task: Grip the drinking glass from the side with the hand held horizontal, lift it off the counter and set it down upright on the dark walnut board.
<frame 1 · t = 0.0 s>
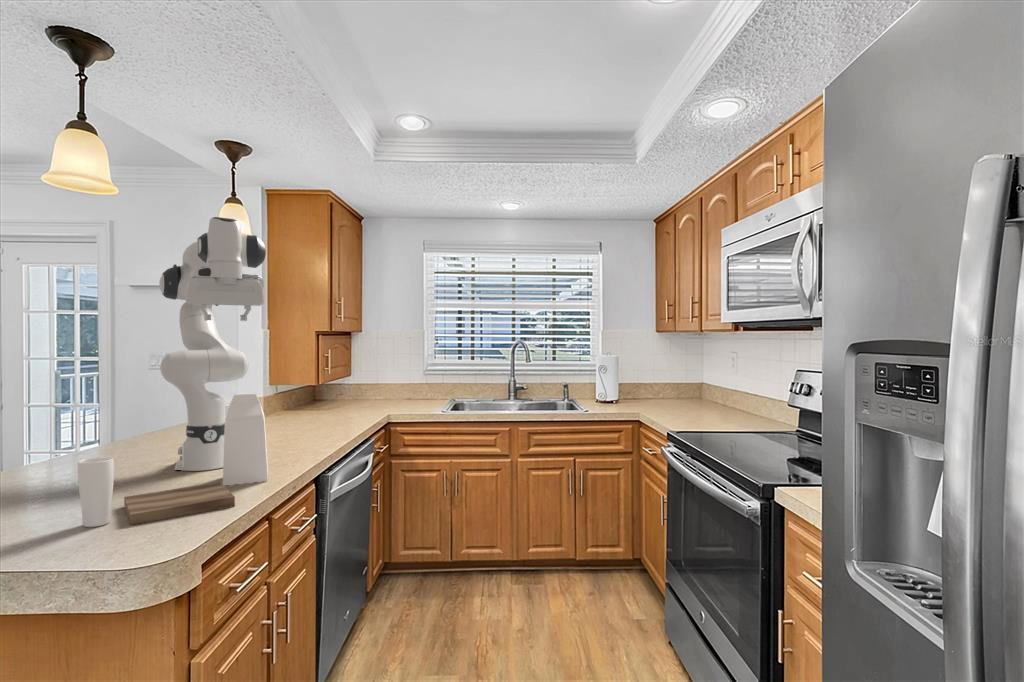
hand: (226, 320, 159), 48 cm above the worktop, tool pointing down, fingers open, 8 cm apart
drinking glass: (97, 525, 128), on the worktop
milk: (246, 479, 168), on the worktop
walnut board: (179, 506, 141), on the worktop
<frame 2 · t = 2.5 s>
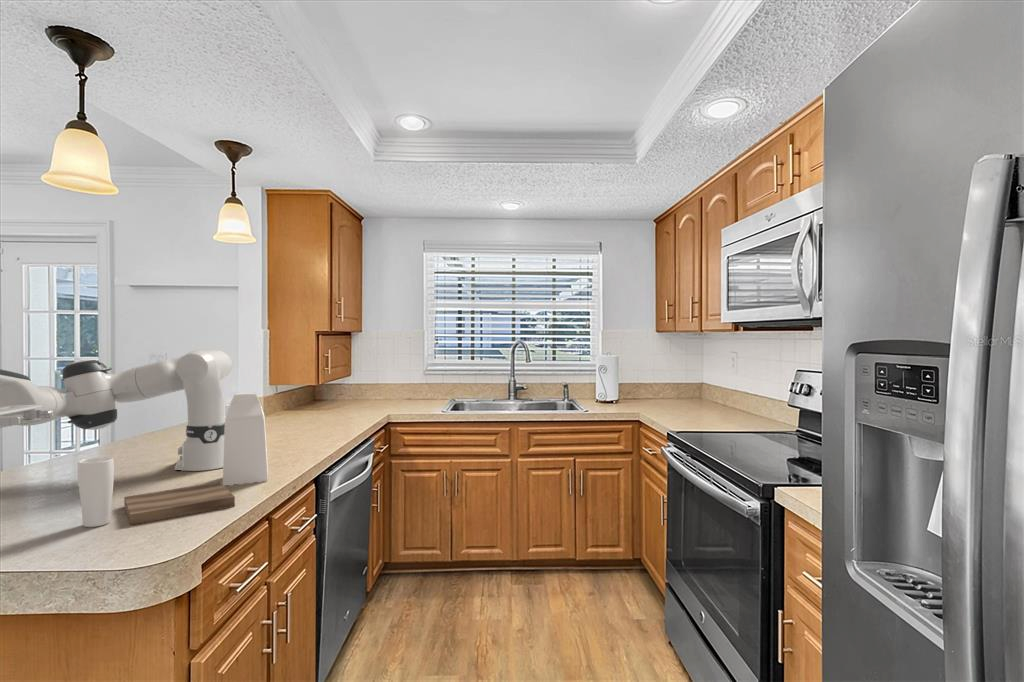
hand: (36, 417, 126), 25 cm above the worktop, tool horizontal, fingers open, 8 cm apart
nothing on the worktop moved.
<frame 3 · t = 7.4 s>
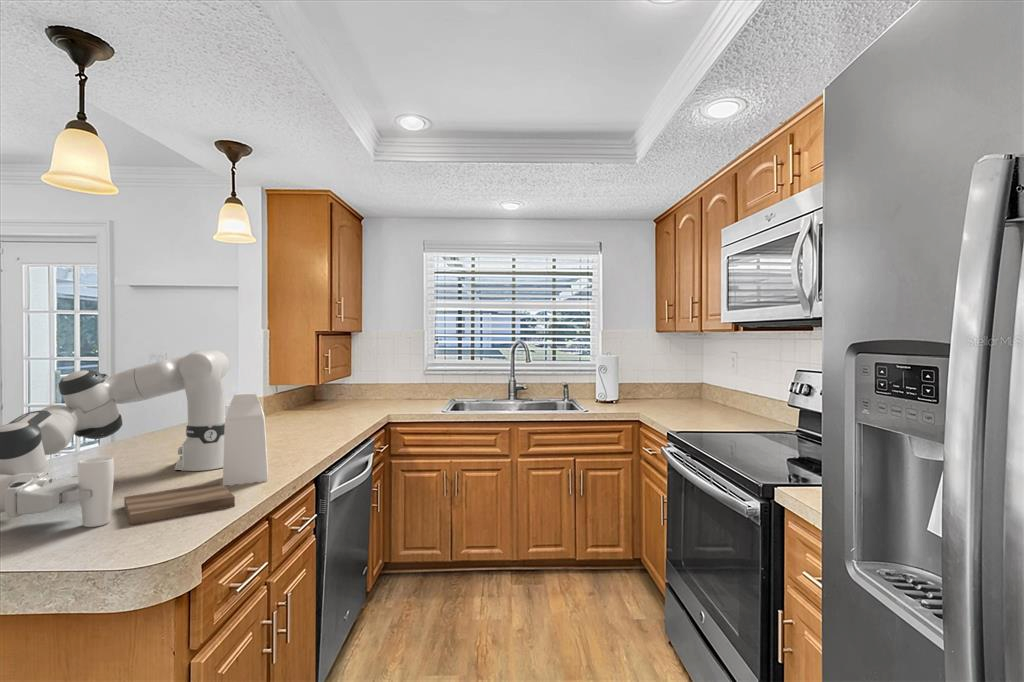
hand: (100, 489, 128), 8 cm above the worktop, tool horizontal, fingers closed on drinking glass, 6 cm apart
drinking glass: (96, 525, 128), on the worktop, touching gripper
everything else where it was.
when the fingers open (12 cm above the worktop, at t = 11.8 s): drinking glass moves 2 cm, resting on walnut board.
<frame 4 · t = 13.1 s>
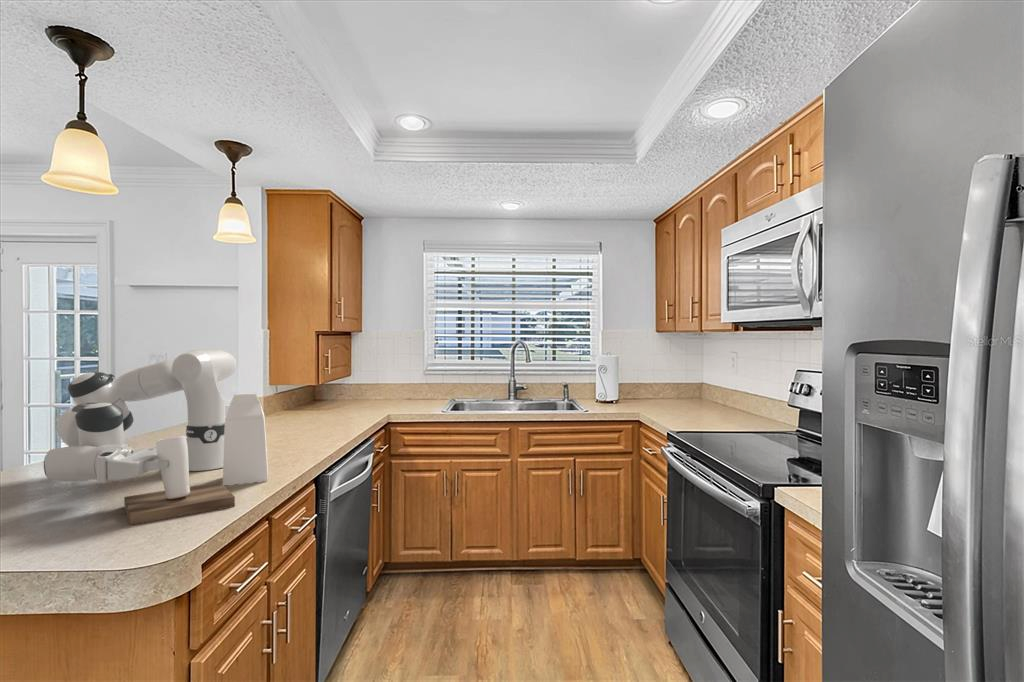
hand: (176, 460, 141), 12 cm above the worktop, tool horizontal, fingers open, 8 cm apart
drinking glass: (178, 497, 139), point 3 cm above the worktop, touching gripper, walnut board
everything else where it was.
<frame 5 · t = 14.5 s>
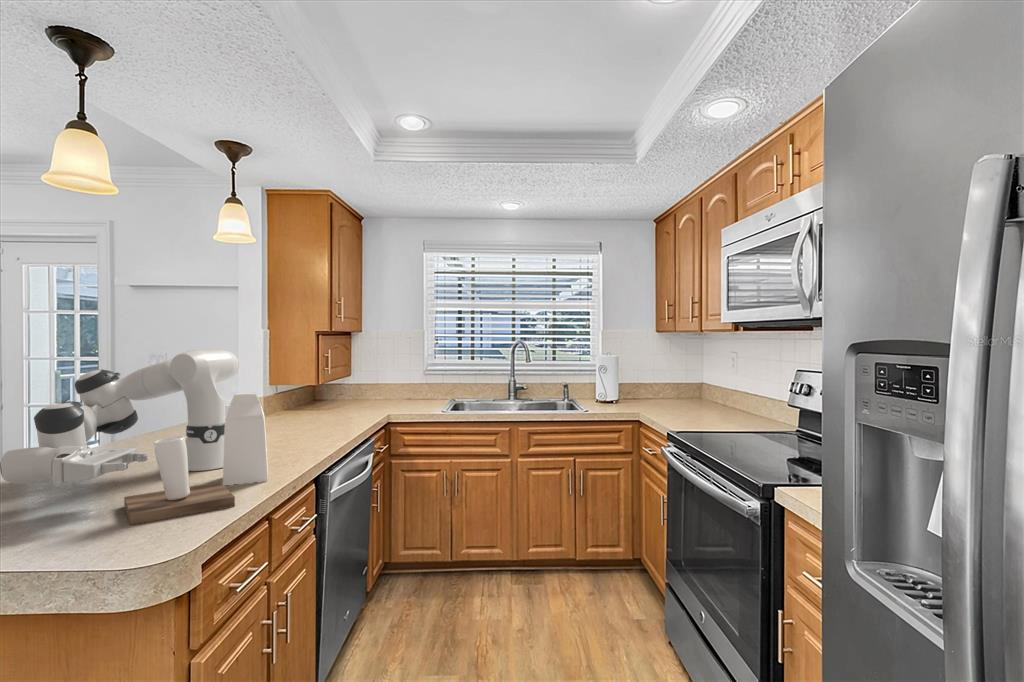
hand: (136, 461, 139), 12 cm above the worktop, tool horizontal, fingers open, 8 cm apart
drinking glass: (178, 498, 139), point 3 cm above the worktop, touching walnut board
everything else where it was.
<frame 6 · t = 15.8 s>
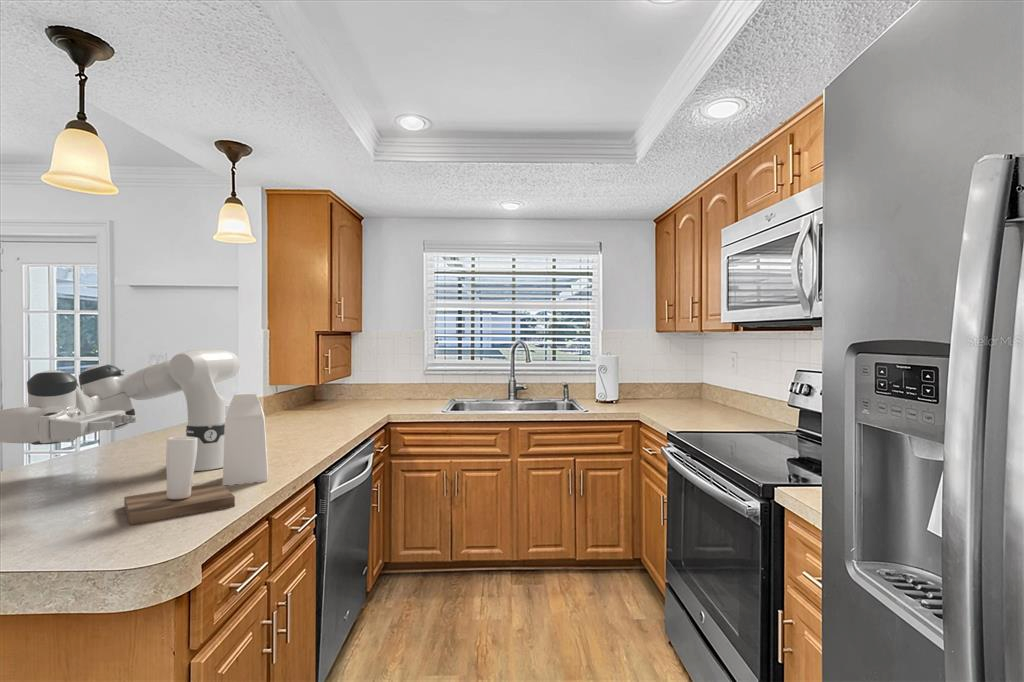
hand: (125, 422, 138), 22 cm above the worktop, tool horizontal, fingers open, 8 cm apart
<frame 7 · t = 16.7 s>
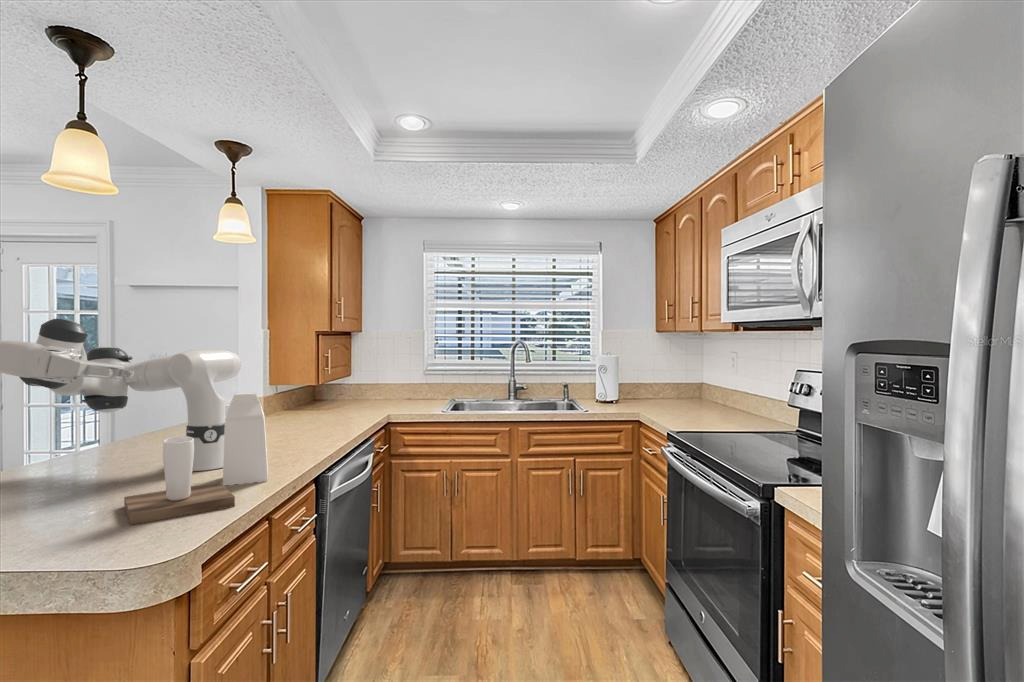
hand: (122, 374, 140), 34 cm above the worktop, tool horizontal, fingers open, 8 cm apart
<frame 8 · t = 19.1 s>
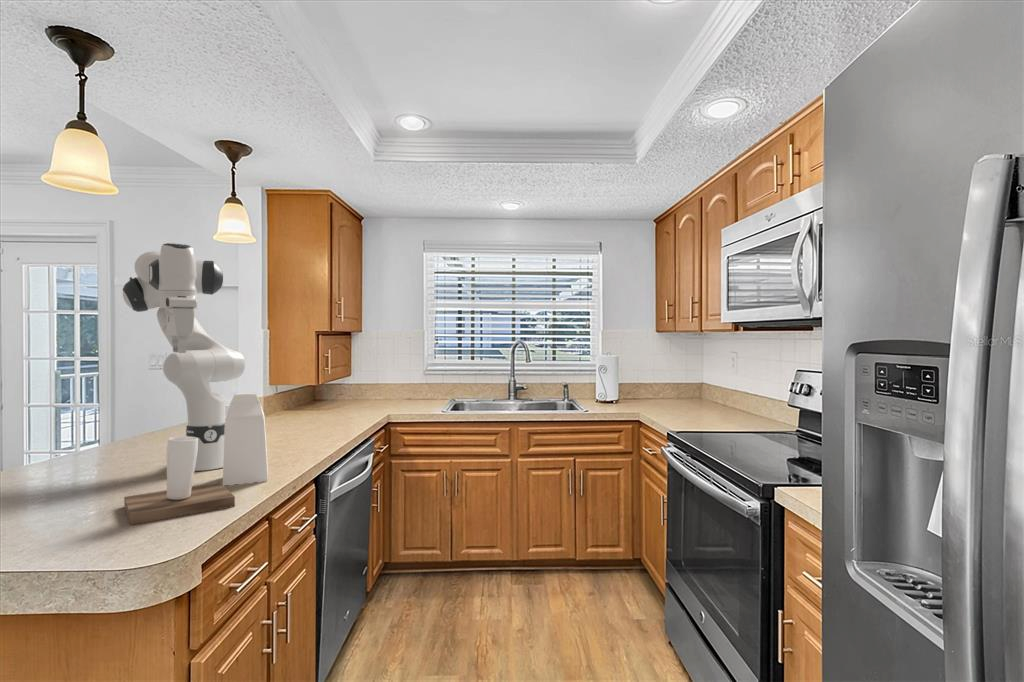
hand: (179, 352, 151), 39 cm above the worktop, tool pointing down, fingers open, 8 cm apart
at the end: drinking glass inside the target area on the walnut board (1.8 cm from its centre), point 2.5 cm above the walnut board's base; drinking glass tilted 5°; the gripper is holding nothing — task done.
